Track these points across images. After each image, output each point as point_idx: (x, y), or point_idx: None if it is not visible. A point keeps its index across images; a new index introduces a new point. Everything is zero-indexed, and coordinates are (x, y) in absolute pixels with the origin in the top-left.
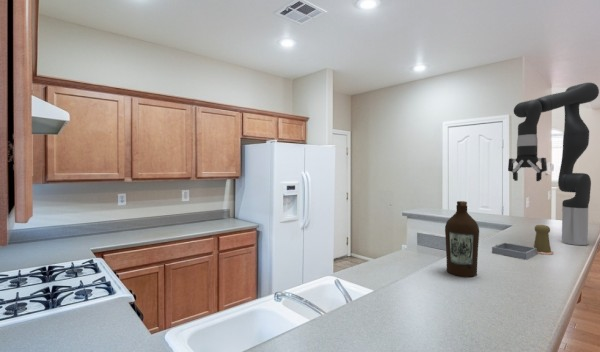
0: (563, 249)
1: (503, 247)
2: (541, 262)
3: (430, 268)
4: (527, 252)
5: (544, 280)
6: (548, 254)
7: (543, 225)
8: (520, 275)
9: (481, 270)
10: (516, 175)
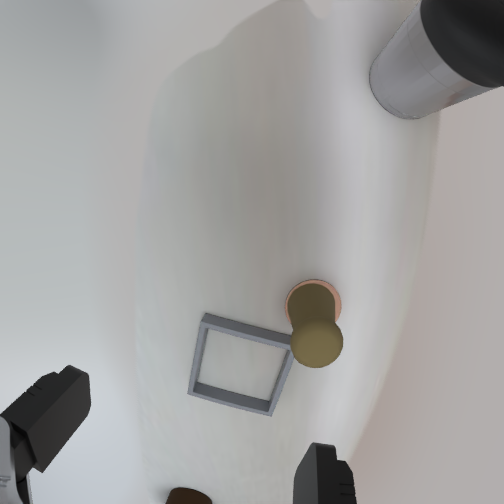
0: (373, 217)
1: (206, 333)
2: (304, 410)
3: (150, 493)
4: (273, 407)
5: None
6: None
7: (321, 356)
8: (267, 486)
9: (210, 486)
10: (57, 440)
